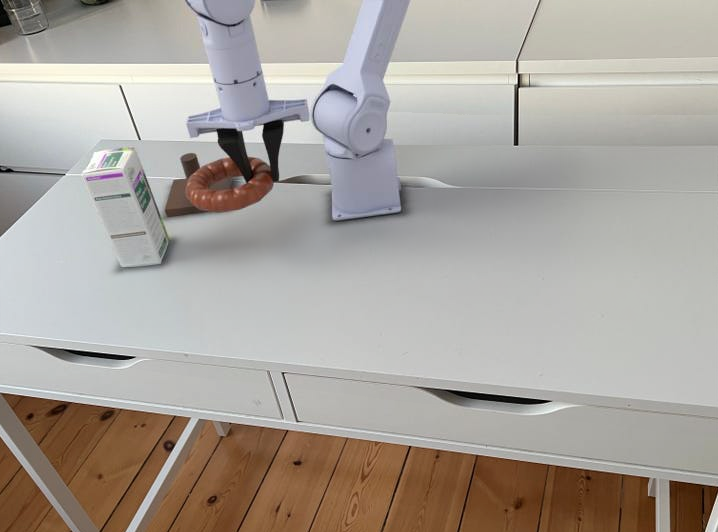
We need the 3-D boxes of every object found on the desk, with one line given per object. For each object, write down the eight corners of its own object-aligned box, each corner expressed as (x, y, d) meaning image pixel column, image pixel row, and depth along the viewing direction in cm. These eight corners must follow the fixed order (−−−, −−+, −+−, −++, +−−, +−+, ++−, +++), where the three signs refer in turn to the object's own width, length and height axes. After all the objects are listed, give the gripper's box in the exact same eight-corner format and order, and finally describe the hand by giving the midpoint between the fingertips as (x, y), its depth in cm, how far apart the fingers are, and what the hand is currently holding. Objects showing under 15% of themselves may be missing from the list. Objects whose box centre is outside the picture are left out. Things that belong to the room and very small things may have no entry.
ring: (277, 165, 102) (273, 147, 101) (273, 209, 94) (269, 190, 92) (194, 177, 103) (189, 159, 101) (184, 221, 95) (178, 203, 93)
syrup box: (162, 264, 103) (126, 166, 94) (119, 268, 104) (79, 172, 94) (170, 241, 108) (137, 145, 98) (129, 245, 108) (92, 150, 98)
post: (232, 178, 119) (221, 138, 115) (227, 209, 112) (215, 167, 108) (175, 186, 119) (162, 146, 115) (166, 217, 113) (152, 176, 108)
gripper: (171, 97, 86) (203, 203, 95) (299, 78, 85) (319, 187, 94) (179, 73, 91) (209, 176, 100) (300, 55, 91) (319, 160, 100)
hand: (263, 180), depth 98 cm, fingers closed on ring, 3 cm apart
